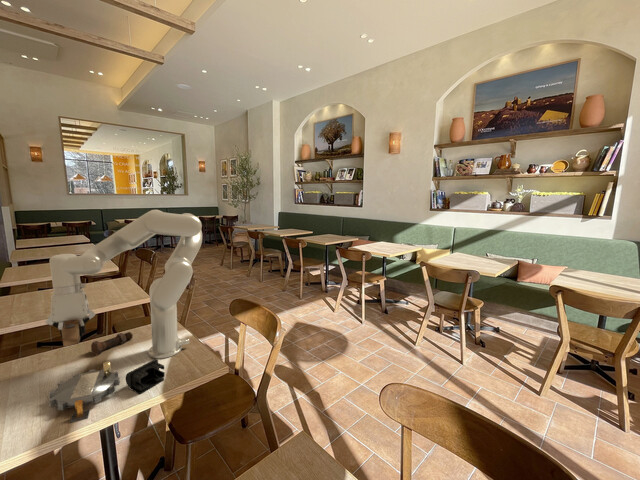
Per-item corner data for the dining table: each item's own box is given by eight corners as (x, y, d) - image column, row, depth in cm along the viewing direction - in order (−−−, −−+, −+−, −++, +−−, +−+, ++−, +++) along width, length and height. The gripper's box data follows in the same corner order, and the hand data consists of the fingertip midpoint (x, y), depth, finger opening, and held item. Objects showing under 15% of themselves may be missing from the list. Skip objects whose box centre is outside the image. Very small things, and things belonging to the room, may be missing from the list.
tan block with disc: (83, 329, 115) (81, 313, 113) (78, 343, 104) (76, 326, 103) (69, 332, 112) (67, 315, 111) (63, 346, 102) (61, 328, 101)
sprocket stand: (99, 386, 102) (98, 376, 101) (92, 416, 89) (91, 404, 88) (76, 392, 99) (75, 381, 98) (66, 423, 86) (64, 411, 85)
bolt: (132, 343, 135) (95, 358, 121) (126, 335, 136) (89, 349, 122) (136, 334, 133) (99, 348, 119) (129, 326, 134) (93, 339, 121)
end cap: (153, 373, 111) (152, 356, 110) (165, 379, 107) (165, 362, 106) (125, 388, 102) (124, 370, 101) (138, 395, 99) (137, 377, 98)
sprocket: (123, 369, 110) (122, 352, 109) (114, 400, 94) (113, 381, 92) (60, 380, 102) (58, 363, 101) (39, 417, 85) (36, 397, 84)
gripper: (98, 282, 113) (103, 327, 116) (39, 289, 104) (46, 337, 107) (95, 288, 106) (100, 336, 109) (32, 296, 98) (40, 347, 101)
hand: (73, 336), depth 108 cm, fingers closed on tan block with disc, 4 cm apart
